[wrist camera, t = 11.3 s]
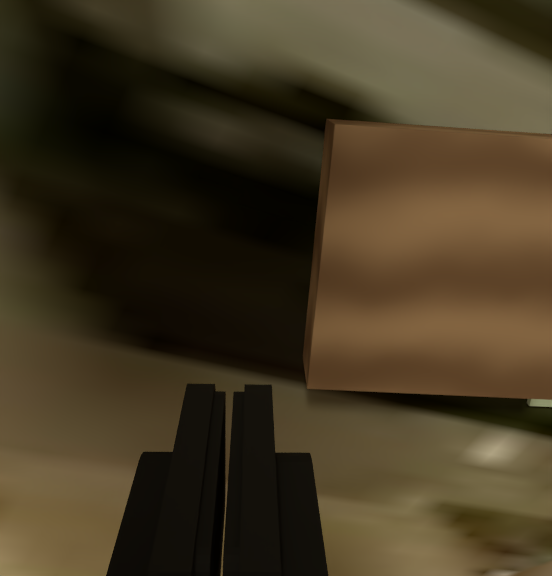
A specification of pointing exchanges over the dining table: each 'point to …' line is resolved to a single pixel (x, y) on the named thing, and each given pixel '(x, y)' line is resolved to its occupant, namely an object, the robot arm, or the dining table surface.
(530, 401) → the mat
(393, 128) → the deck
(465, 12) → the dining table surface
